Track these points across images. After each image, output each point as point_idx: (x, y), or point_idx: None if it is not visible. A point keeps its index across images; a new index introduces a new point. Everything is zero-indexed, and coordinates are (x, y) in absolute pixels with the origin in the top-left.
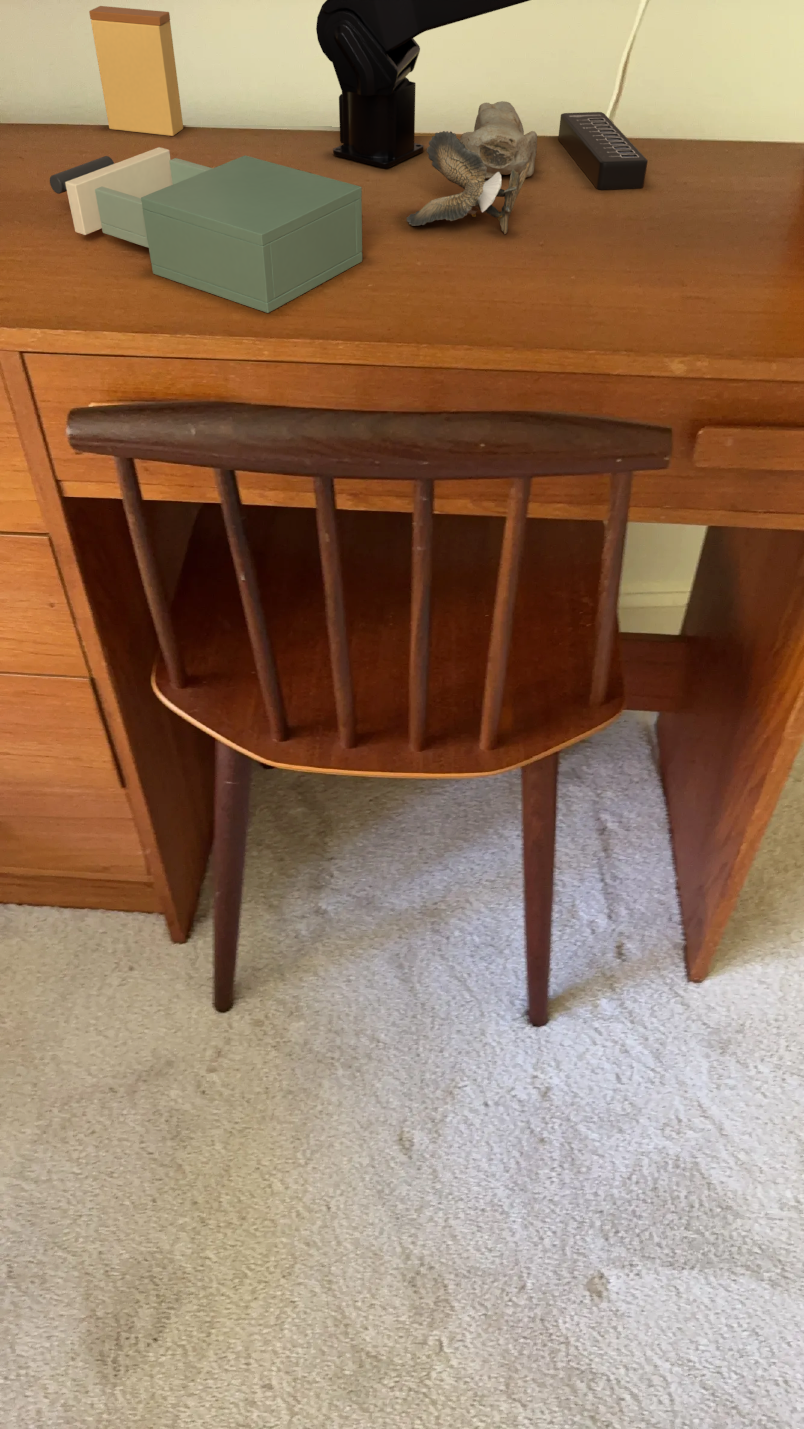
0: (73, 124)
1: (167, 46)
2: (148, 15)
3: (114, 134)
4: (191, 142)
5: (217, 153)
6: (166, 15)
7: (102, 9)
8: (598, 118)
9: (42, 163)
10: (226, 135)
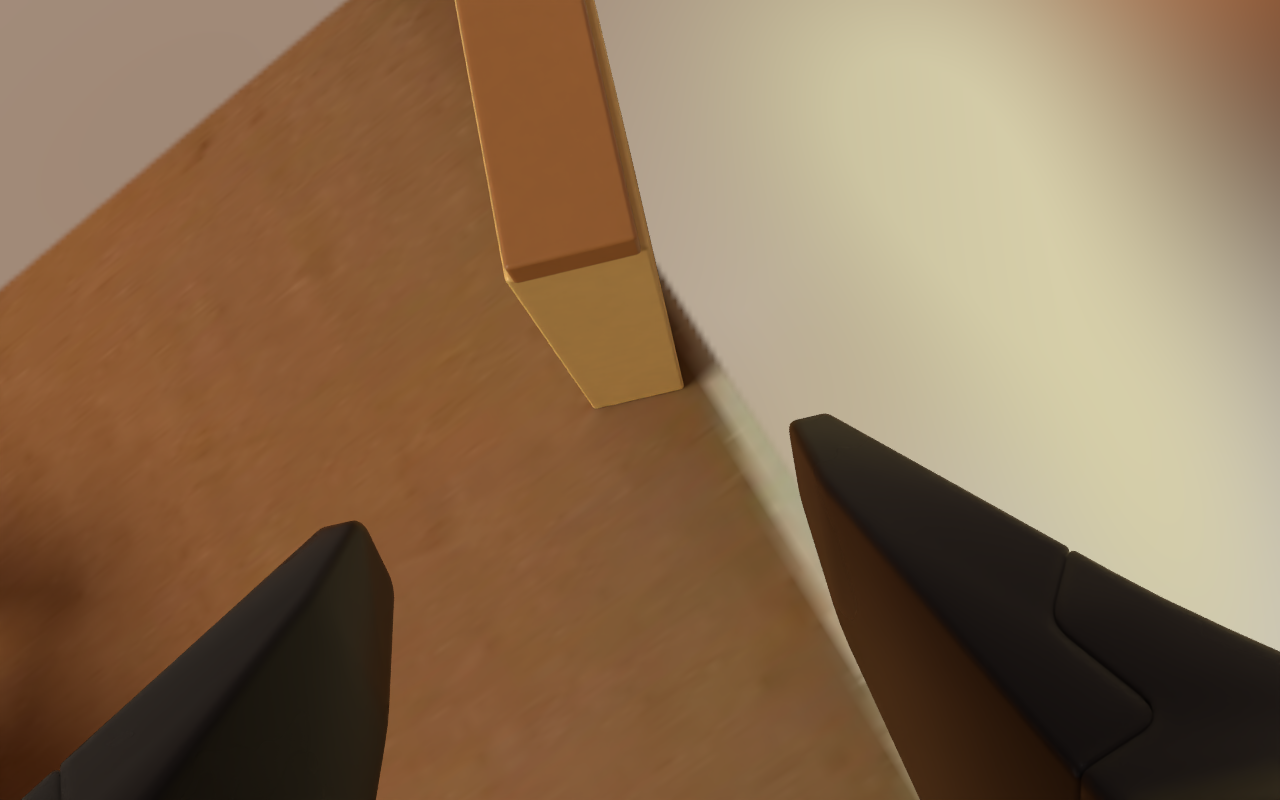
0: None
1: (591, 306)
2: (502, 201)
3: None
4: (573, 506)
5: (517, 666)
6: (596, 252)
7: None
8: None
9: (188, 229)
10: (707, 573)
